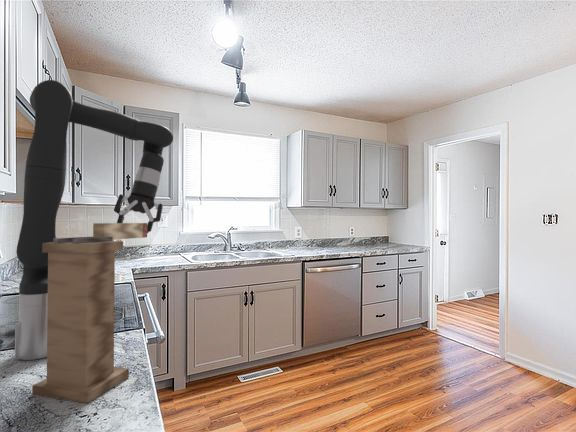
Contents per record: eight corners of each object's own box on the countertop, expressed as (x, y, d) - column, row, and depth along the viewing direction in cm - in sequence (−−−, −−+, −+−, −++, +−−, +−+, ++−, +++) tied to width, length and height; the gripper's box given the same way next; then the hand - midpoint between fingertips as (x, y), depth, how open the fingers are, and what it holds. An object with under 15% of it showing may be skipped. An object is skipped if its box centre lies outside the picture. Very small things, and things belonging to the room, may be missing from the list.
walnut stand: (79, 370, 84) (80, 236, 84) (128, 376, 80) (129, 236, 81) (32, 395, 72) (34, 238, 73) (87, 403, 69) (89, 239, 69)
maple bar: (137, 237, 97) (137, 223, 97) (147, 237, 96) (147, 223, 96) (93, 240, 81) (93, 223, 81) (103, 240, 80) (103, 223, 80)
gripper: (121, 175, 110) (107, 224, 107) (167, 186, 113) (154, 233, 110) (126, 180, 117) (112, 226, 114) (168, 190, 120) (157, 235, 117)
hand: (133, 230), depth 112 cm, fingers open, 8 cm apart
